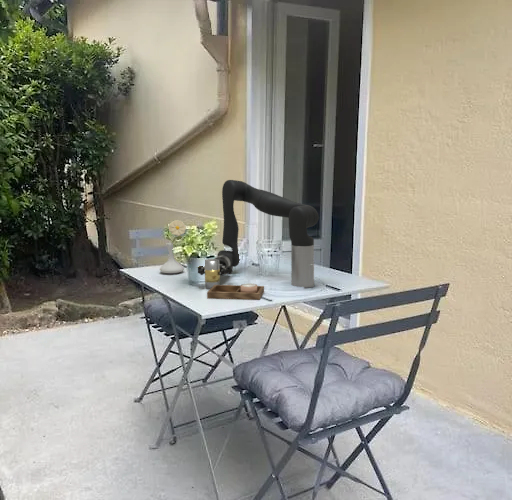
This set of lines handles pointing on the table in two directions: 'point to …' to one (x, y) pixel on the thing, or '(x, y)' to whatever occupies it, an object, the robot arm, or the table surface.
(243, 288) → the ramekin
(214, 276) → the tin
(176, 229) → the flower in vase
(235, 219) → the robot arm
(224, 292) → the tray
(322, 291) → the table surface
